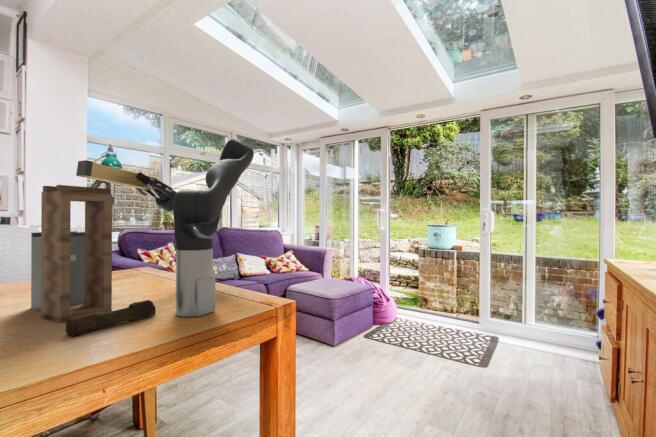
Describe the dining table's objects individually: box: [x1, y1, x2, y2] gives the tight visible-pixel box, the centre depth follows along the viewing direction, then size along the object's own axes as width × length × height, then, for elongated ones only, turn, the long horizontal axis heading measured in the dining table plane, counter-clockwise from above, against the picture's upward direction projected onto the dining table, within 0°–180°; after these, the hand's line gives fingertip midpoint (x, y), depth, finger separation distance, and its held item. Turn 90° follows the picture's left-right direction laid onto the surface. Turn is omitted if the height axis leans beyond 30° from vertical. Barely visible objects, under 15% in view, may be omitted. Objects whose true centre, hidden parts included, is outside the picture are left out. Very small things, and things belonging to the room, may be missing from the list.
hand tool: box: [65, 299, 156, 338], centre depth 78 cm, size 19×4×5 cm, turn 144°
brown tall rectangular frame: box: [40, 184, 113, 324], centre depth 86 cm, size 9×12×34 cm
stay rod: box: [75, 159, 158, 190], centre depth 100 cm, size 4×22×4 cm, turn 154°
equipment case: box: [30, 230, 85, 311], centre depth 95 cm, size 9×11×21 cm
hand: (133, 175), depth 104 cm, fingers closed on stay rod, 4 cm apart
